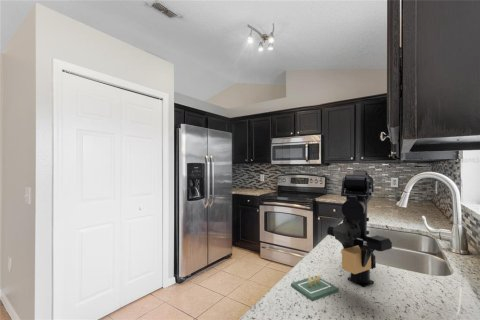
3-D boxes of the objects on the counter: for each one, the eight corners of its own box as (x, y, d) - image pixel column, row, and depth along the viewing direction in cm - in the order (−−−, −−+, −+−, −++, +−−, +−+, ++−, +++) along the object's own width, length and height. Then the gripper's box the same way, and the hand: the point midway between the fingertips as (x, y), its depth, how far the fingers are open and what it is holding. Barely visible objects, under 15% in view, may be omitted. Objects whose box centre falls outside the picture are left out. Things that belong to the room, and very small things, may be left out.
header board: (315, 278, 86) (315, 267, 87) (338, 291, 78) (338, 279, 78) (291, 286, 81) (291, 274, 81) (312, 301, 72) (312, 288, 72)
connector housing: (358, 263, 77) (358, 245, 77) (371, 268, 73) (370, 249, 73) (342, 268, 73) (341, 249, 73) (354, 274, 69) (354, 254, 69)
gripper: (315, 211, 78) (315, 258, 77) (368, 223, 61) (369, 283, 61) (337, 208, 83) (338, 252, 83) (392, 219, 67) (393, 274, 66)
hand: (356, 263), depth 73 cm, fingers closed on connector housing, 4 cm apart
